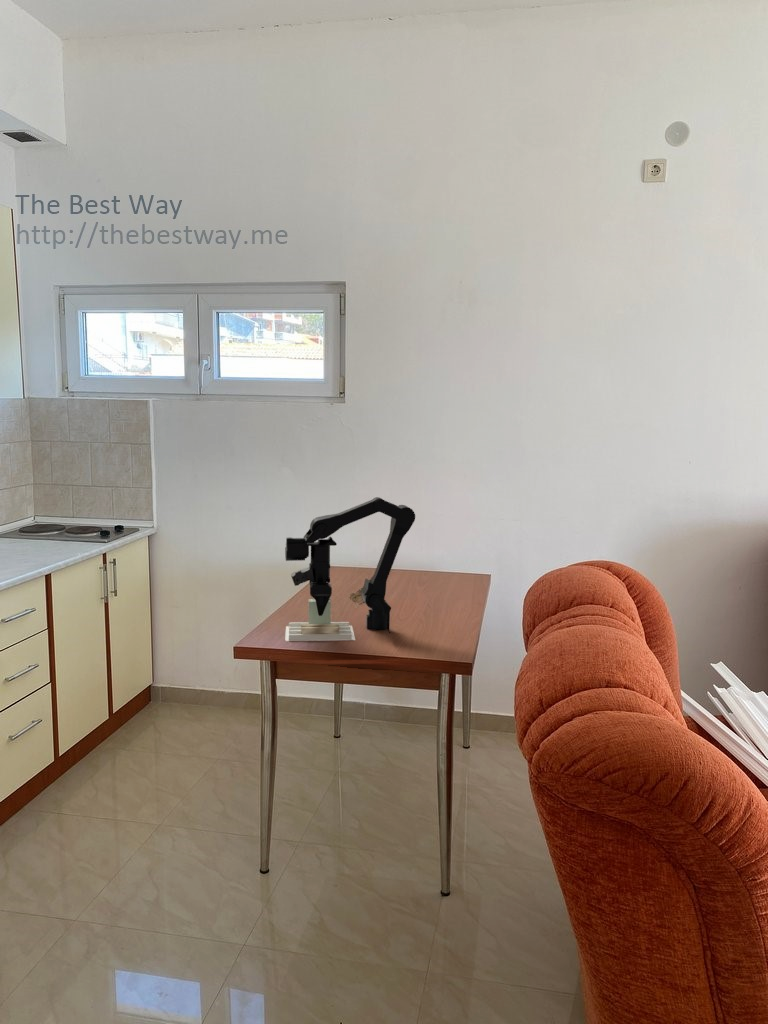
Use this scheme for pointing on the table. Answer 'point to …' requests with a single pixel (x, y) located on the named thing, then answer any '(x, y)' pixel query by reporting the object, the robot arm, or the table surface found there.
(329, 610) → the sage green block
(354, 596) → the wooden fragment
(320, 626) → the offcut bundle
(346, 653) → the table surface
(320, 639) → the slot rack
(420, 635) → the table surface
